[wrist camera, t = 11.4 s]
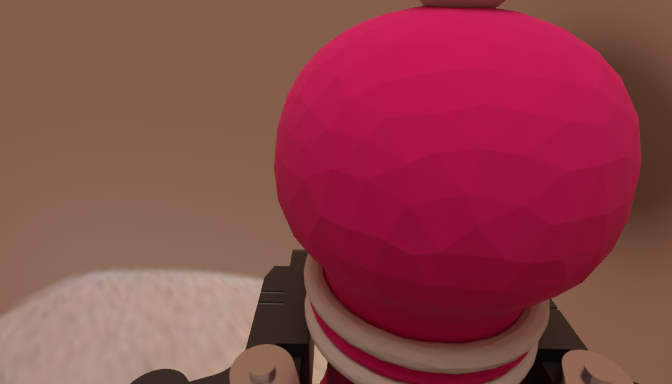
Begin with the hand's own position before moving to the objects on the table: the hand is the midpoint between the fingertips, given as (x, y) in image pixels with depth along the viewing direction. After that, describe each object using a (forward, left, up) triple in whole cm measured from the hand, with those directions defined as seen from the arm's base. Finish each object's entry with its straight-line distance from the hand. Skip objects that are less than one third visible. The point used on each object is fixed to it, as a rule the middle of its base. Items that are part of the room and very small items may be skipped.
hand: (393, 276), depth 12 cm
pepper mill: (+2, -2, -11) cm, 12 cm away
